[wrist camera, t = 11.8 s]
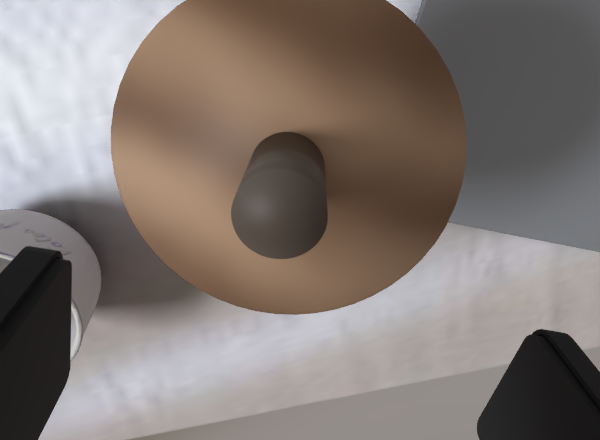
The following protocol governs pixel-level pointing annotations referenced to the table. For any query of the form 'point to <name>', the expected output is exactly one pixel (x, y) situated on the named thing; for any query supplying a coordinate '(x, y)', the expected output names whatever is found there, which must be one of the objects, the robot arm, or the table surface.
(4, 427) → the robot arm
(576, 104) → the mat
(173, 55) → the lid
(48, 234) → the teacup
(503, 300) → the table surface
